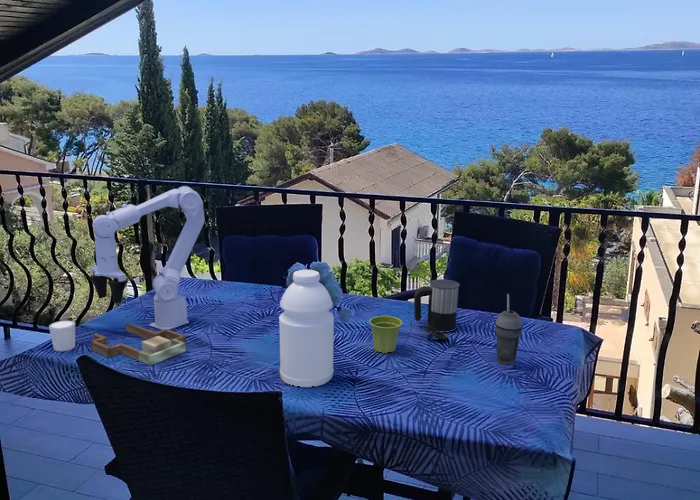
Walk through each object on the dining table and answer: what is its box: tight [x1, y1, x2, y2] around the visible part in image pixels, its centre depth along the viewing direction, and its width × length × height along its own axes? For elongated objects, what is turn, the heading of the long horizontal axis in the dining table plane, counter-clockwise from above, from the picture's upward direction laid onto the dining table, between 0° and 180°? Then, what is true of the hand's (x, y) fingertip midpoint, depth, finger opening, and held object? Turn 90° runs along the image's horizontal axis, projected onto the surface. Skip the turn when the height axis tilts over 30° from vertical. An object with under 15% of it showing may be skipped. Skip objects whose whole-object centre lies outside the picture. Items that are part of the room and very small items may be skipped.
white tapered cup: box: [48, 320, 76, 352], centre depth 178 cm, size 7×7×7 cm
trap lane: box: [89, 322, 187, 366], centre depth 179 cm, size 19×26×2 cm
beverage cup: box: [494, 293, 524, 366], centre depth 168 cm, size 7×7×20 cm
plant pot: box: [369, 315, 403, 354], centre depth 179 cm, size 9×9×9 cm
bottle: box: [278, 269, 335, 388], centre depth 159 cm, size 14×14×28 cm
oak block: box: [141, 336, 172, 354], centre depth 175 cm, size 6×6×4 cm
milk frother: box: [413, 278, 461, 341], centre depth 192 cm, size 14×16×15 cm
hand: (110, 300), depth 187 cm, fingers open, 7 cm apart
